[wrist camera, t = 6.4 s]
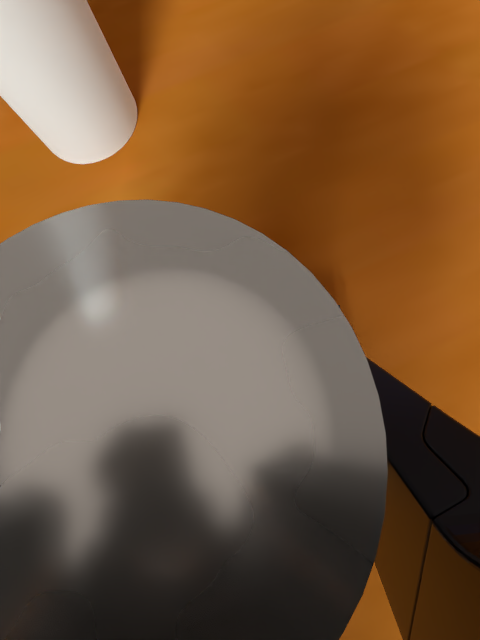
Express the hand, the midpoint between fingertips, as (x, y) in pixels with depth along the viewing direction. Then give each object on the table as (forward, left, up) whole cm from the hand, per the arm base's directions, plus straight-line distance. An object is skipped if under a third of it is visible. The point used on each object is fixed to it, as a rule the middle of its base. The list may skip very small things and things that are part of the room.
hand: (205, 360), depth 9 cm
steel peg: (-1, +1, -7) cm, 7 cm away
